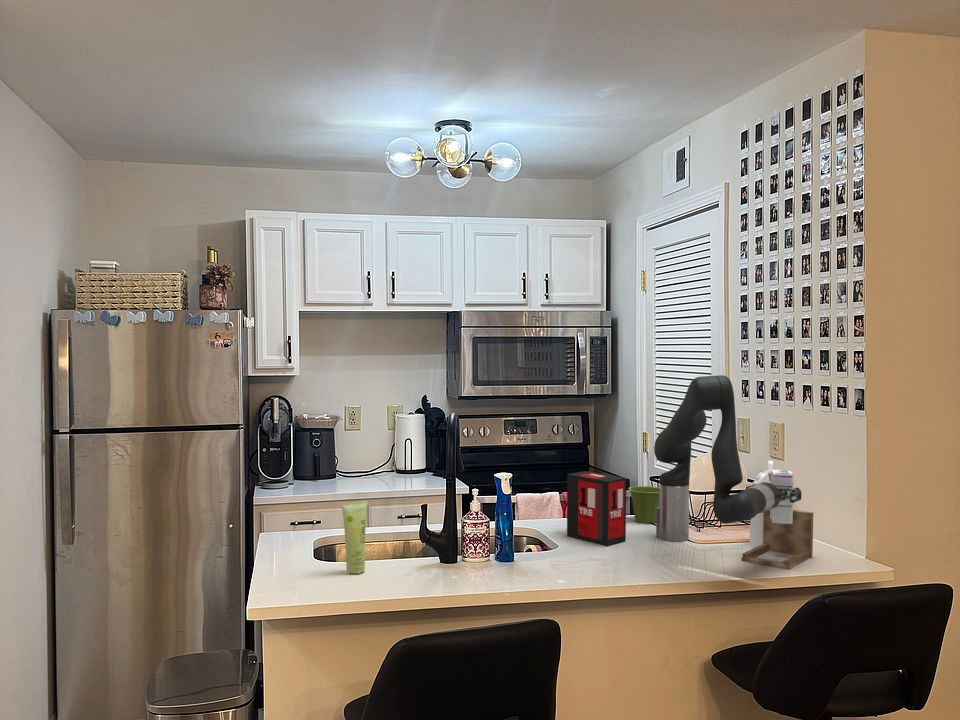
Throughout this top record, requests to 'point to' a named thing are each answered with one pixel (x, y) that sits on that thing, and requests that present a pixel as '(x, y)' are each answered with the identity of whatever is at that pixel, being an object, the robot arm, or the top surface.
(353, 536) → the tube
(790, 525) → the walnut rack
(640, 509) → the plant pot
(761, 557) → the grey offcut
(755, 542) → the milk
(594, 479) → the cleaning product box
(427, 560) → the top surface
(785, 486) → the syrup box
